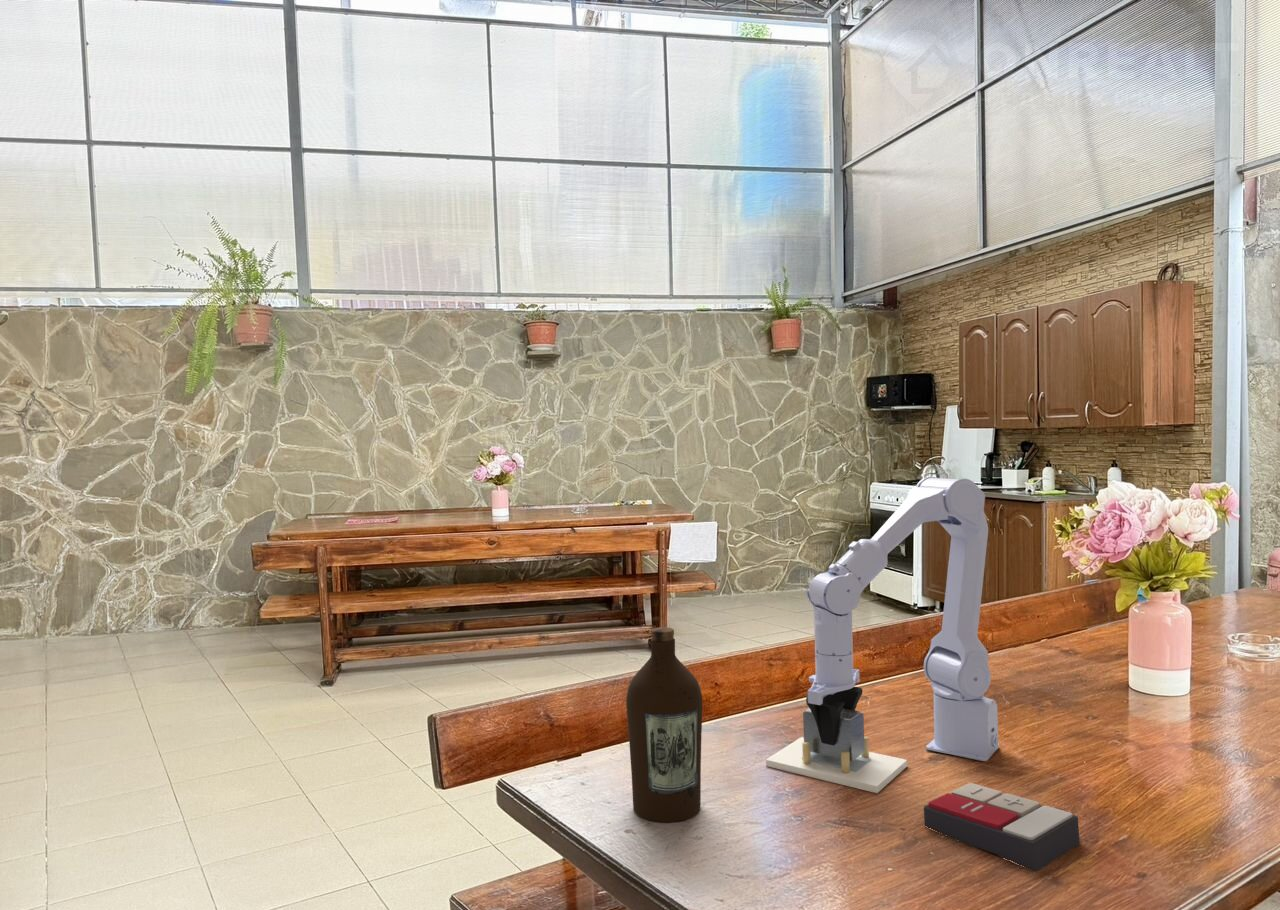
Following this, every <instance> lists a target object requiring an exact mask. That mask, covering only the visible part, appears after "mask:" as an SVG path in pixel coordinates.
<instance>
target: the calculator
mask: <svg viewBox="0 0 1280 910" xmlns="http://www.w3.org/2000/svg"><path fill="white" fill-rule="evenodd" d="M1002 793H1003V792H1002V791H1001V790H998V789H994V788H990V787H987V786H983V785H981V784H976V783H974V782H969V783H966V784H965V785H963V786H960V787H959V788H955V790H952V791H951V793H949V792H948V793H946V794H943V795H940V796H939V797H937V798H935V799H932V800H930V801H928V802H927V803H928V804H926V805H924V806H923V819H924V820H923V821H924V827H925V826H927V827H928V828H931V829H933V830H935V831H937V832H940V833H942V834H944V835H943V836H945V835H947V836H949V837H948V838H950V837H951V838H950V839H952V838H953V840H955V839H956V840H955V841H957V840H959V841H958V842H960V843H963V844H966V845H968V846H971V847H974V848H977V849H979V850H982V851H986V852H988V853H991V854H995V855H997V856H998V857H1000V858H1001V857H1002V858H1005V859H1007V860H1011V861H1013V862H1015V863H1017V864H1019V865H1022V866H1024V867H1026V868H1028V869H1027V870H1029V869H1030V870H1029V871H1031V870H1032V871H1031V872H1038V871H1039V870H1040V871H1041V869H1043V868H1044V866H1045V867H1046V866H1048V865H1049V864H1051V863H1052V861H1053V862H1054V861H1056V860H1057V859H1059V858H1060V857H1062V856H1064V855H1065V854H1067V853H1068V852H1070V851H1071V850H1073V849H1075V848H1076V847H1078V846H1079V845H1080V844H1081V843H1080V829H1079V828H1080V827H1079V817H1078V816H1077V815H1075V814H1073V813H1072V812H1070V811H1066V810H1062V809H1059V808H1055V807H1052V806H1048V805H1041V803H1040V802H1039V801H1036V800H1032V799H1029V798H1026V797H1022V796H1019V795H1015V794H1012V793H1003V794H1002ZM935 831H934V832H935ZM937 832H936V833H937ZM940 833H939V834H940ZM942 834H941V835H942ZM947 836H946V837H947ZM1063 854H1064V855H1063ZM1061 855H1062V856H1061ZM1002 858H1001V859H1002ZM1050 862H1051V863H1050ZM1048 863H1049V864H1048ZM1047 864H1048V865H1047ZM1019 865H1018V866H1019ZM1024 867H1023V868H1024ZM1042 867H1043V868H1042ZM1026 868H1025V869H1026Z"/></svg>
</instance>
